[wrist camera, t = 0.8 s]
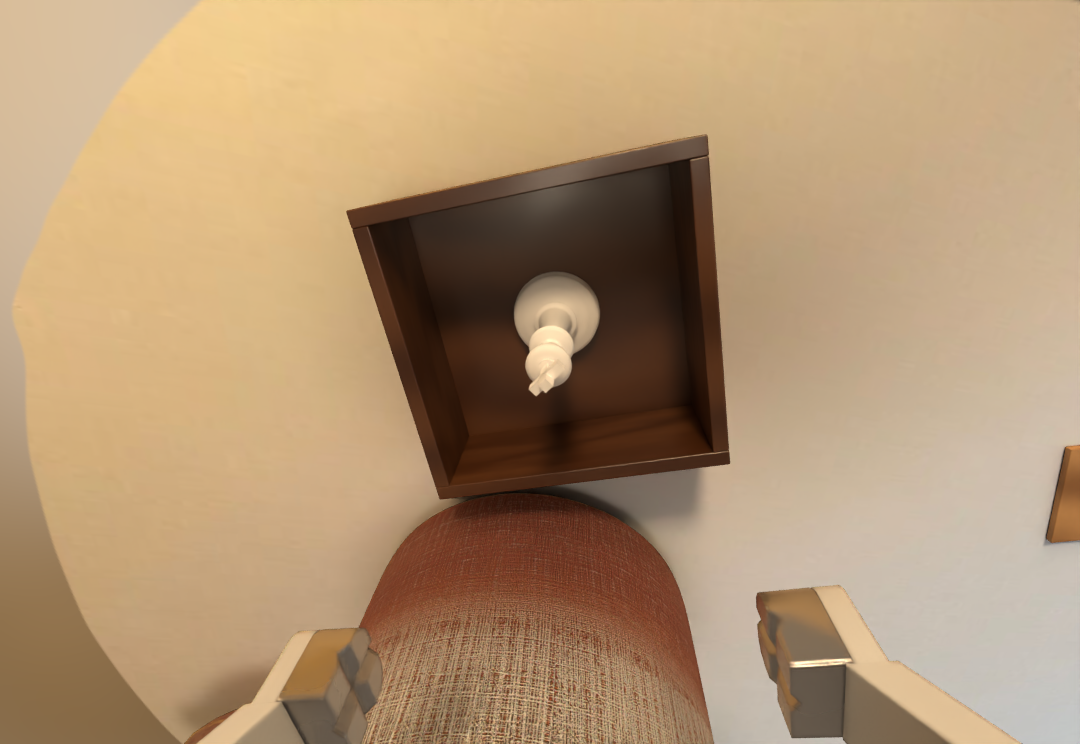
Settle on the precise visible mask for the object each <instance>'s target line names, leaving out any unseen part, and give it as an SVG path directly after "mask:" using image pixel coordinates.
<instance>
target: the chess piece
mask: <svg viewBox="0 0 1080 744" xmlns="http://www.w3.org/2000/svg"><path fill="white" fill-rule="evenodd" d="M599 320H600V307H599V303H598V299H597V297H596V295H595V293H594V291H593V290H592V289H591V287H590V286H589V285H588V284H587V283H586V282H585V281H583V280H582V279H580V278H579V277H577V276H575V275H573V274H570V273H566V272H548V273H544V274H541V275H538V276H536V277H535V278H533V279H531V280H530V281H529V282H528V283H527V284H526V285H525V286H524V287H523V288H522V289H521V291H520V292H519V294H518V296H517V299H516V302H515V306H514V321H515V326H516V329H517V332H518V334H519V336H520V337H521V339H522V340H523V341H524V343H525V344H526V345H527V346H529V351H530V353H529V354H528V356H527V359H526V363H525V368H526V372H527V374H528V376H529V378H530V379H531V380H532V381H533V382H532V383H531V384H530V386H529V390H530V391H531V392H532V393H533V394H534V395H535V396H537V395H538V394H539V393H540V392H541V391H544V392H545V393H546V392H547V391H548V390H550V389H551V388H552V387H556V386H559V385H561V384H562V383H564V382H565V381H566V380H567V379H568V377H569V376H570V373H571V370H572V362H571V357H572V355H573V354H574V353H576V352H578V351H580V350H581V349H583V348H584V347H585V346H586V345H587V344H588V343H589V342H590V341H591V339H592V338H593V336H594V335H595V332H596V330H597V328H598V325H599Z"/></svg>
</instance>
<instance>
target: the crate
mask: <svg viewBox="0 0 1080 744" xmlns="http://www.w3.org/2000/svg"><path fill="white" fill-rule="evenodd" d="M708 154H709V151H708V136H707V135H706V134H705V135H700V136H694V137H688V138H682V139H677V140H672V141H668V142H663V143H658V144H653V145H649V146H644V147H639V148H635V149H630V150H625V151H621V152H616V153H611V154H606V155H602V156H597V157H592V158H588V159H583V160H578V161H573V162H569V163H564V164H559V165H555V166H550V167H545V168H541V169H536V170H531V171H526V172H522V173H517V174H512V175H508V176H503V177H498V178H493V179H489V180H484V181H479V182H475V183H470V184H465V185H461V186H456V187H451V188H446V189H442V190H437V191H432V192H428V193H423V194H418V195H413V196H409V197H404V198H399V199H395V200H390V201H386V202H382V203H377V204H373V205H369V206H364V207H360V208H356V209H352V210H347V211H346V212H347V215H348V219H349V222H350V225H351V228H352V229H353V234H354V237H355V240H356V243H357V246H358V249H359V252H360V255H361V258H362V261H363V264H364V268H365V271H366V274H367V277H368V280H369V283H370V286H371V289H372V292H373V295H374V298H375V301H376V304H377V307H378V311H379V314H380V317H381V320H382V323H383V326H384V329H385V332H386V335H387V338H388V341H389V344H390V347H391V351H392V354H393V357H394V360H395V363H396V366H397V369H398V372H399V375H400V378H401V381H402V384H403V387H404V391H405V394H406V397H407V400H408V403H409V406H410V409H411V412H412V415H413V418H414V421H415V424H416V427H417V431H418V434H419V437H420V440H421V443H422V446H423V449H424V452H425V455H426V458H427V461H428V464H429V467H430V470H431V474H432V477H433V480H434V483H435V486H436V489H437V492H438V495H439V498H440V499H449V498H457V497H465V496H473V495H481V494H489V493H498V492H506V491H514V490H522V489H530V488H538V487H547V486H555V485H563V484H571V483H579V482H587V481H596V480H604V479H612V478H620V477H628V476H636V475H645V474H653V473H661V472H669V471H677V470H685V469H694V468H702V467H710V466H718V465H726V464H730V456H729V443H728V428H727V414H726V399H725V385H724V370H723V356H722V341H721V327H720V312H719V298H718V283H717V269H716V254H715V240H714V225H713V211H712V196H711V182H710V167H709V157H708ZM548 272H566V273H570V274H573V275H575V276H577V277H579V278H580V279H582V280H583V281H585V282H586V283H587V284H588V285H589V286H590V287H591V289H592V290H593V291H594V293H595V295H596V297H597V299H598V303H599V307H600V320H599V325H598V328H597V330H596V332H595V335H594V336H593V338H592V339H591V341H590V342H589V343H588V344H587V345H586V346H585V347H584V348H583V349H581V350H580V351H578V352H576V353H574V354H573V355H572V357H571V362H572V370H571V373H570V376H569V377H568V379H567V380H566V381H565V382H564V383H562V384H561V385H559V386H556V387H552V388H551V389H550V390H548V391H547V392H546V393H545V392H544V391H541V392H540V393H539V394H538V395H537V396H535V395H534V394H533V393H532V392H531V391H530V390H529V386H530V384H531V383H532V382H533V381H532V380H531V379H530V378H529V376H528V374H527V372H526V368H525V363H526V359H527V356H528V354H529V353H530V351H529V346H527V345H526V344H525V343H524V341H523V340H522V339H521V337H520V336H519V334H518V332H517V329H516V326H515V321H514V306H515V302H516V299H517V296H518V294H519V292H520V291H521V289H522V288H523V287H524V286H525V285H526V284H527V283H528V282H529V281H530V280H531V279H533V278H535V277H536V276H538V275H541V274H544V273H548Z"/></svg>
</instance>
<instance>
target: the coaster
mask: <svg viewBox="0 0 1080 744" xmlns="http://www.w3.org/2000/svg"><path fill="white" fill-rule="evenodd" d="M1046 539H1047V540H1048V541H1050V542H1051V543H1055V542H1065V541H1076V540H1080V445H1078V446H1070V447H1066V449H1065V454H1064V458H1063V463H1062V468H1061V472H1060V477H1059V482H1058V486H1057V491H1056V496H1055V501H1054V505H1053V510H1052V515H1051V519H1050V524H1049V529H1048V533H1047V538H1046Z"/></svg>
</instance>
